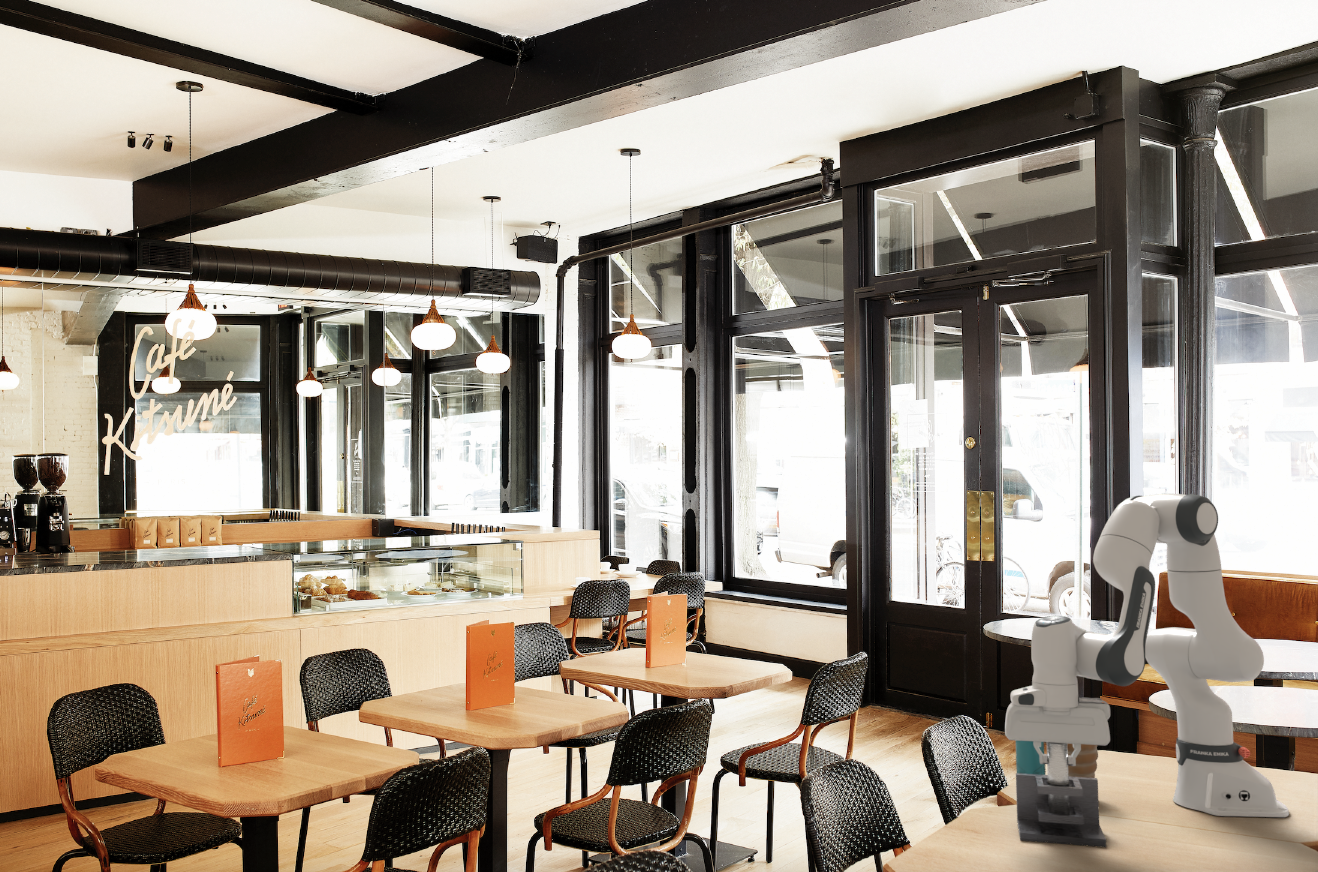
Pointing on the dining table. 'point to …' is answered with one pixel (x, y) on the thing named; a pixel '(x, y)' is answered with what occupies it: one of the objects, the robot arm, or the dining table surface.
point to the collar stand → (1058, 827)
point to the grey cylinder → (1058, 776)
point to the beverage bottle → (1029, 758)
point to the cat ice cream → (1084, 761)
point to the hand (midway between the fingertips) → (1057, 764)
